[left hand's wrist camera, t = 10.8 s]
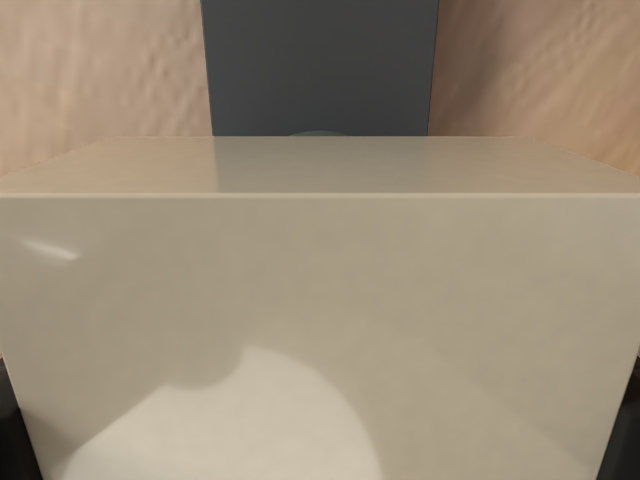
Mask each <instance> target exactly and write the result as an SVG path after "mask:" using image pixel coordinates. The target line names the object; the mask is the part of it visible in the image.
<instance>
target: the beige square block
mask: <svg viewBox="0 0 640 480" xmlns="http://www.w3.org/2000/svg"><path fill="white" fill-rule="evenodd" d="M639 349H640V177H639V176H636V175H633V174H630V173H628V172H625V171H622V170H619V169H617V168H614V167H611V166H608V165H605V164H603V163H600V162H597V161H594V160H592V159H589V158H586V157H583V156H580V155H578V154H575V153H572V152H569V151H567V150H564V149H561V148H558V147H555V146H553V145H550V144H547V143H544V142H542V141H539V140H536V139H533V138H530V137H528V136H112V137H109V138H106V139H103V140H101V141H98V142H95V143H92V144H90V145H87V146H84V147H81V148H78V149H76V150H73V151H70V152H67V153H65V154H62V155H59V156H56V157H53V158H51V159H48V160H45V161H42V162H40V163H37V164H34V165H31V166H28V167H26V168H23V169H20V170H17V171H15V172H12V173H9V174H6V175H3V176H1V177H0V351H1V354H2V357H3V360H4V363H5V366H6V369H7V372H8V375H9V378H10V381H11V384H12V387H13V390H14V394H15V397H16V400H17V403H18V406H19V408H20V411H21V414H22V417H23V420H24V424H25V427H26V430H27V433H28V436H29V439H30V442H31V445H32V448H33V451H34V454H35V457H36V460H37V463H38V466H39V469H40V473H41V476H42V479H43V480H597V477H598V474H599V471H600V468H601V465H602V462H603V459H604V456H605V452H606V449H607V446H608V443H609V440H610V437H611V434H612V431H613V428H614V425H615V422H616V419H617V416H618V413H619V409H620V406H621V404H622V401H623V398H624V395H625V392H626V389H627V386H628V382H629V379H630V376H631V373H632V370H633V367H634V364H635V361H636V358H637V355H638V352H639Z"/></svg>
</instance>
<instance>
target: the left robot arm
mask: <svg viewBox="0 0 640 480" xmlns="http://www.w3.org/2000/svg"><path fill="white" fill-rule="evenodd" d="M0 480H43V479H42V476H41V473H40V469H39V466H38V463H37V460H36V457H35V454H34V451H33V448H32V445H31V442H30V439H29V436H28V433H27V430H26V427H25V424H24V420H23V417H22V414H21V411H20V408H19V406H18V403H17V400H16V397H15V394H14V390H13V387H12V384H11V381H10V378H9V375H8V372H7V369H6V366H5V363H4V360H3V357H2V358H1V359H0ZM597 480H640V358H639V357H638V356H637V358H636V361H635V364H634V367H633V370H632V373H631V376H630V379H629V382H628V386H627V389H626V392H625V395H624V398H623V401H622V404H621V406H620V409H619V413H618V416H617V419H616V422H615V425H614V428H613V431H612V434H611V437H610V440H609V443H608V446H607V449H606V452H605V456H604V459H603V462H602V465H601V468H600V471H599V474H598V477H597Z"/></svg>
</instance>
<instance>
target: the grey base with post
mask: <svg viewBox="0 0 640 480" xmlns="http://www.w3.org/2000/svg"><path fill="white" fill-rule="evenodd" d="M200 2H201V13H202V24H203V35H204V46H205V58H206V69H207V80H208V91H209V102H210V113H211V124H212V135H213V136H427V131H428V120H429V109H430V98H431V87H432V76H433V64H434V53H435V42H436V31H437V20H438V9H439V0H200Z"/></svg>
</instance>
